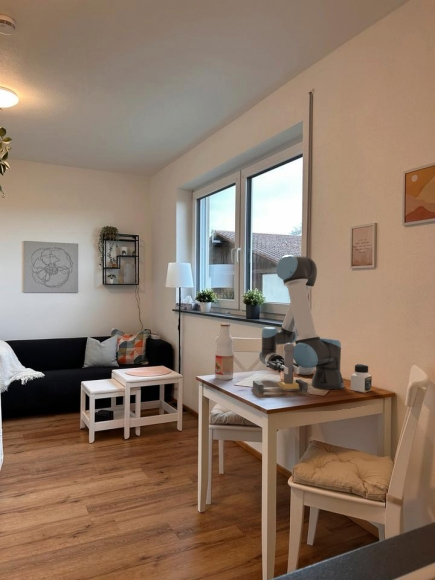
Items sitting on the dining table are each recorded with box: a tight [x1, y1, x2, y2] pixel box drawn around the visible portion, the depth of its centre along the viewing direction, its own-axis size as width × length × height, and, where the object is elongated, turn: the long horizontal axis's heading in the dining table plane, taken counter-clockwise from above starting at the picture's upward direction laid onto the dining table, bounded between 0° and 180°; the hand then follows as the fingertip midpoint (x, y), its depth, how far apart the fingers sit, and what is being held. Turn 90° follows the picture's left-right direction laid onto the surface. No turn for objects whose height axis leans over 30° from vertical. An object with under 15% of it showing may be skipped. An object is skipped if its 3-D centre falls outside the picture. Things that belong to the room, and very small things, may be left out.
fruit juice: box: [214, 323, 235, 381], centre depth 221 cm, size 9×9×28 cm
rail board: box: [250, 378, 310, 398], centre depth 192 cm, size 23×12×5 cm, turn 103°
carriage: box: [277, 343, 299, 389], centre depth 193 cm, size 7×7×20 cm
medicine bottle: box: [350, 363, 373, 394], centre depth 201 cm, size 7×7×12 cm
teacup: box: [295, 362, 316, 376], centre depth 238 cm, size 14×11×8 cm
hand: (292, 371), depth 188 cm, fingers open, 4 cm apart
